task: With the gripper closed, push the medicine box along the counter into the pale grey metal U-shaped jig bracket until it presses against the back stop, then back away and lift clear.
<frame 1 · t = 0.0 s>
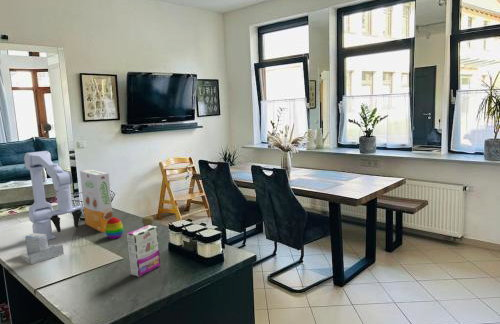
hand: (67, 229, 163), 10 cm above the kitchen island, tool pointing down, fingers open, 7 cm apart
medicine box: (38, 254, 163), on the kitchen island
cereal box: (99, 226, 199), on the kitchen island
jig bracket: (42, 256, 160), on the kitchen island
candy bar box: (145, 270, 142), on the kitchen island
cork: (149, 239, 177), on the kitchen island
decorative egg: (115, 237, 182), on the kitchen island
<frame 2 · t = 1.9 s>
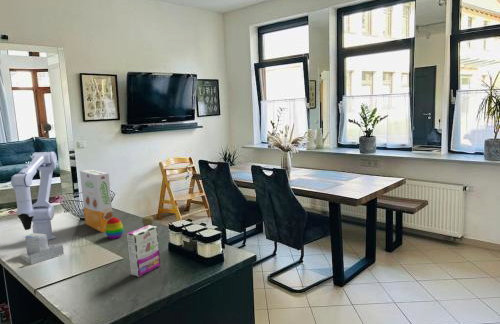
hand: (27, 229, 167), 10 cm above the kitchen island, tool pointing down, fingers closed
nothing on the kitchen island moved.
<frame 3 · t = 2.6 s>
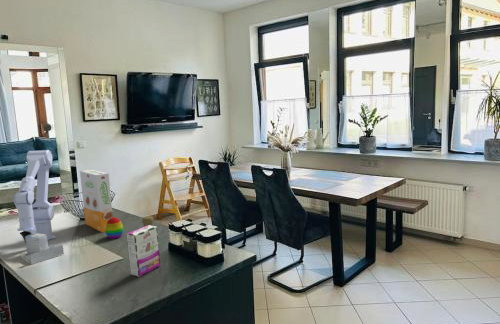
hand: (29, 246, 169), 1 cm above the kitchen island, tool pointing down, fingers closed
nothing on the kitchen island moved.
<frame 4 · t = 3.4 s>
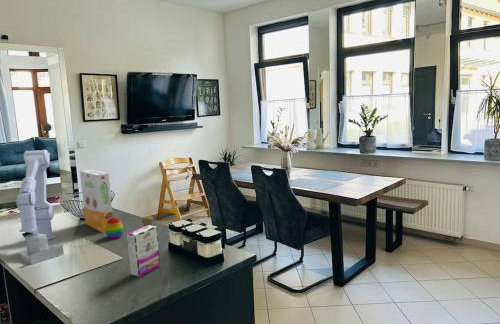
hand: (32, 247, 167), 1 cm above the kitchen island, tool pointing down, fingers closed
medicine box: (38, 254, 163), on the kitchen island, touching gripper
everything else where it was.
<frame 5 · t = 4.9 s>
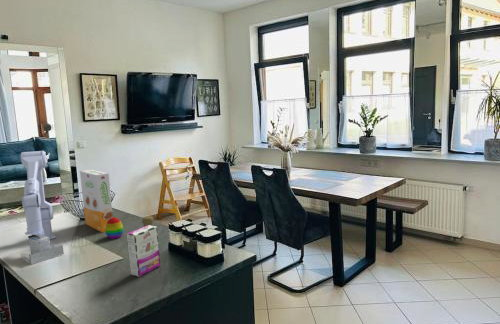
hand: (37, 250, 163), 1 cm above the kitchen island, tool pointing down, fingers closed, pressing on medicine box
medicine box: (41, 257, 160), on the kitchen island, touching gripper, jig bracket
everything else where it was.
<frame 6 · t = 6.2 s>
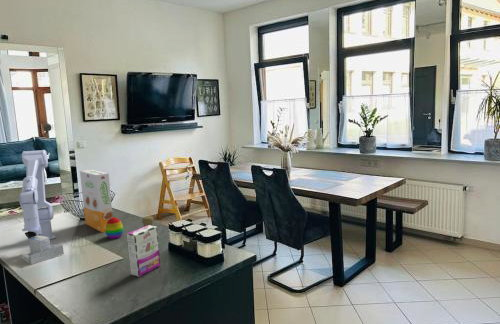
hand: (34, 246, 165), 2 cm above the kitchen island, tool pointing down, fingers closed
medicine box: (41, 257, 160), on the kitchen island
everything else where it was.
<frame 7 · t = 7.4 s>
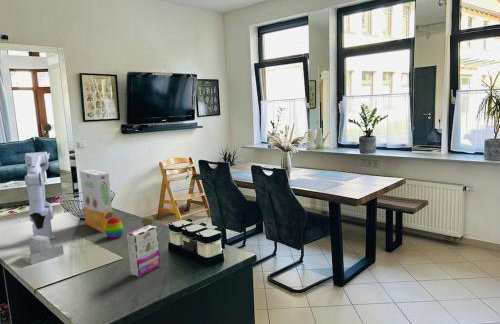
hand: (39, 228, 169), 9 cm above the kitchen island, tool pointing down, fingers closed
nothing on the kitchen island moved.
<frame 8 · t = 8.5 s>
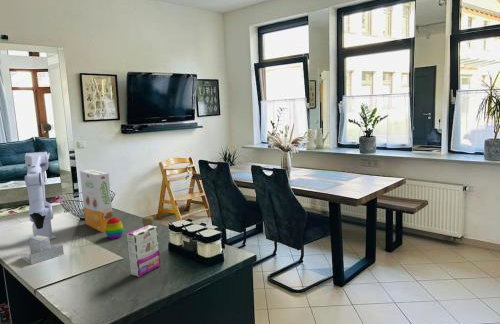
hand: (39, 228, 169), 9 cm above the kitchen island, tool pointing down, fingers closed
nothing on the kitchen island moved.
at the end: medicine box 0.9 cm off-centre on the jig bracket, point 0.0 cm above the jig bracket's base; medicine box tilted 0°; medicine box moved 4.8 cm from its start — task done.
